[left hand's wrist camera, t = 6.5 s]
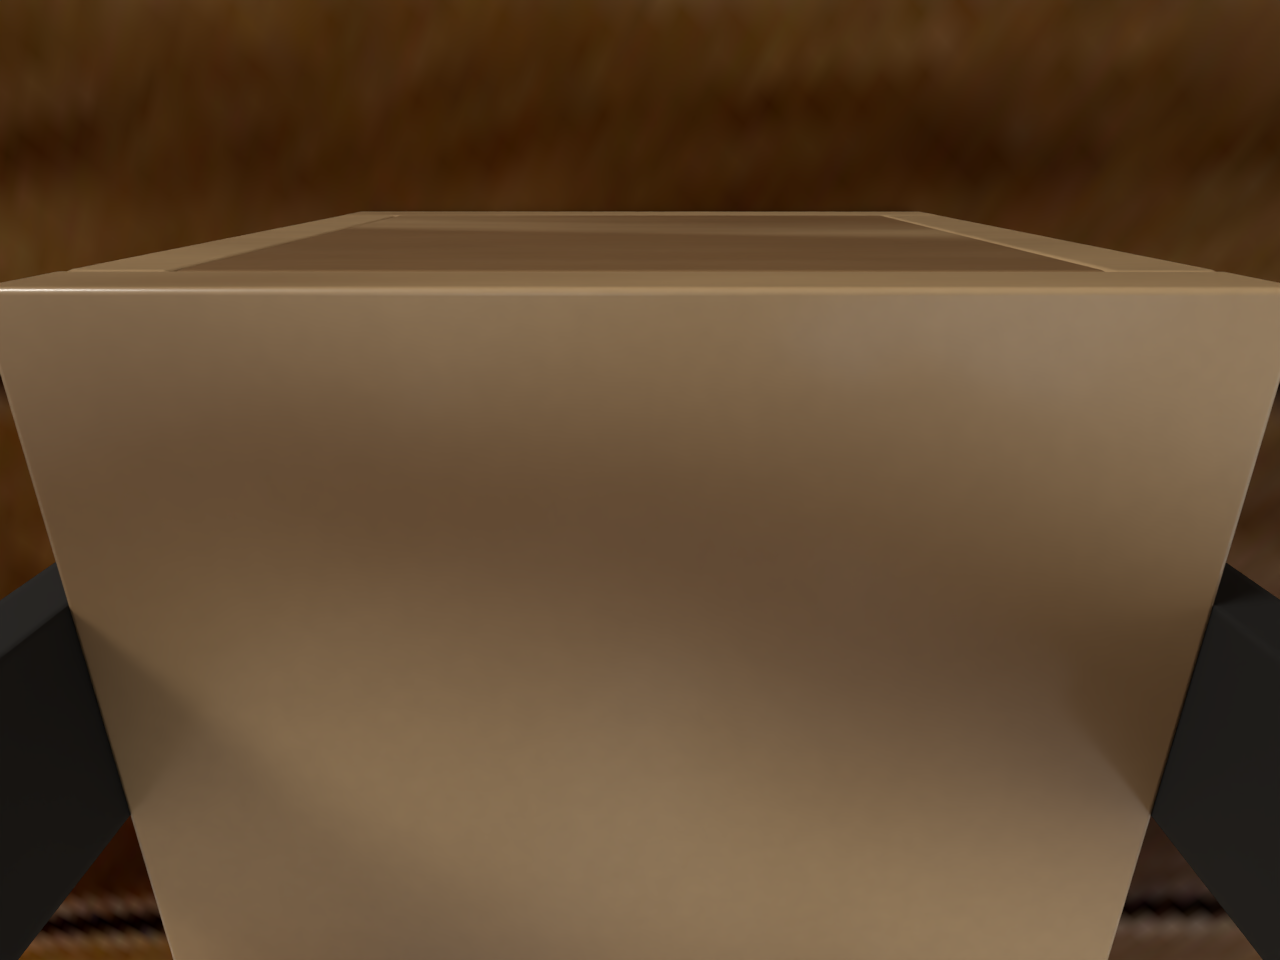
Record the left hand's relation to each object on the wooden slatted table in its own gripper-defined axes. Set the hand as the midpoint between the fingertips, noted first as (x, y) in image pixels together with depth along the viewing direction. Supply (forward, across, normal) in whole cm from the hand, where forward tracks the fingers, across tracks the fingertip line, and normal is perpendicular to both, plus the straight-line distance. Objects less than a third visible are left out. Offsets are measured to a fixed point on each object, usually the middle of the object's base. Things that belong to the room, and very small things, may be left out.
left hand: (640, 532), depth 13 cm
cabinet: (+6, 0, -6) cm, 8 cm away
